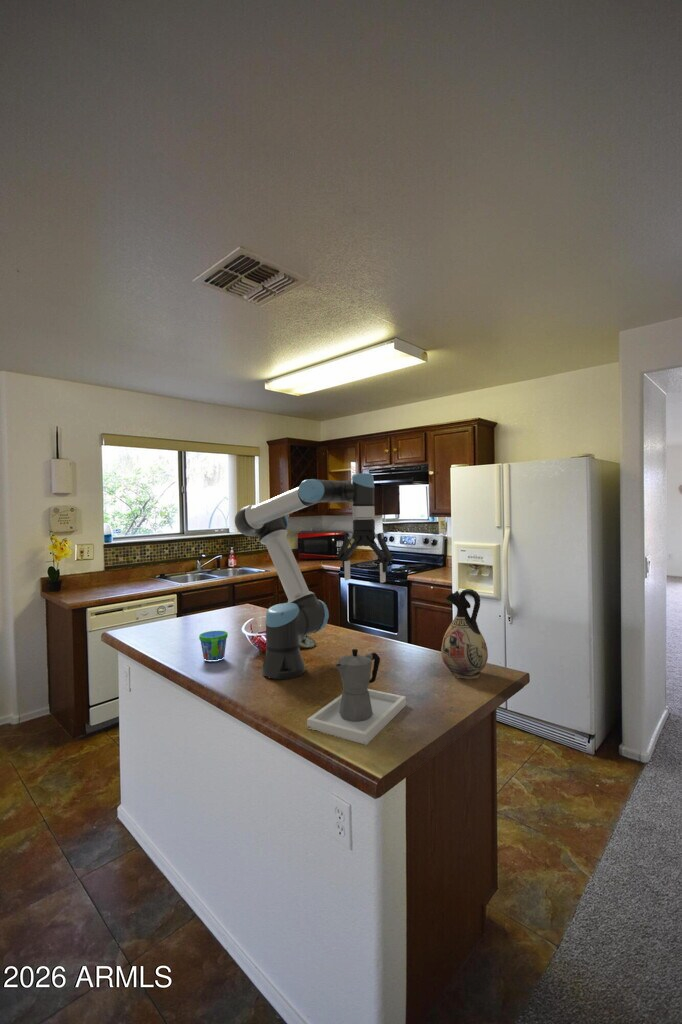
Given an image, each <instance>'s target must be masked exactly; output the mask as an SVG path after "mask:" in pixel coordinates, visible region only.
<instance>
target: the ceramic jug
mask: <svg viewBox="0 0 682 1024" xmlns="http://www.w3.org/2000/svg"><path fill="white" fill-rule="evenodd" d="M466 596H469V597H472V598H473V601H474V604H473V608H472V609H473V610H472V613H471V615H470V614H469V612H468V609H471V603H470V602H469V600H468V599H467V598H466ZM444 600H445V601H446V602H447V603H450V604H452V605H454V606H455V607H456V615H455V617H454V618H453V620H452V621H451V623H450V624H449V626H448V628H447V629H446V631H445V633H444V635H443V639H442V644H441V647H440V648H441V649H440V650H441V651H440V653H441V659H442V661H443V664H444V665H445V666H446V668H447V669H449V671H450V673H452V674H451V676H452V675H453V677H454V676H455V677H454V678H456V677H459V678H465V679H464V680H472V679H471V678H474V679H478V678H480V675H481V671H482V670H483V669H484V668H485V667H486V666H487V662H488V657H489V652H488V647H487V643H486V640H485V638H484V636H483V634H482V633H481V631H480V629H479V625H478V622H477V617H478V615H479V611H480V607H481V598H480V595H479V593H478V592H477V591H476V590H474V589H472V588H466V589H463V590H461V591H460V592H459V591H458V590H456V591H454V593H453V592H451V593H449V594H448V595H447V596H446V598H445V599H444ZM459 678H458V679H459Z"/></svg>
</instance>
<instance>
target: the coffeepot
mask: <svg viewBox="0 0 682 1024" xmlns="http://www.w3.org/2000/svg"><path fill="white" fill-rule="evenodd" d="M358 651H359V649H357V648H353V649H352V650H351V652H352V655H351V654H349V655H343V656H341V657H340V658H339V659H337V663H336V664H335V665H334V668H335V669H337V671H338V672H339V674H340V680H341V684H342V686H343V689H342V691H341V694H342V698H341V705H340V712H339V713H340V715H341V717H342V718H343V719H345V720H348V721H354V722H358V721H364V720H367V719H369V718H370V717H371V715H372V714H373V712H372V707H371V701H370V696H369V691H368V689H369V688H368V686H369V685H370V684H372V683H374V682H375V681H376V678H377V675H378V671H379V666H380V662H381V658H380V656H379V655H378V654H377V652H371V653H366V654H364V655H361V654H358ZM372 663H373V665H372ZM372 666H373V668H372ZM371 671H372V672H371Z"/></svg>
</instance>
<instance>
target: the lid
mask: <svg viewBox="0 0 682 1024" xmlns="http://www.w3.org/2000/svg"><path fill="white" fill-rule="evenodd" d="M314 646H315V647H316V641H315V639H314V638H312V637H311V636H309V635H306V636H303V637H300V638H299V648H300V649H301V648H302V649H304V650H308V649H307V648H309V649H313V648H314ZM312 647H313V648H312Z"/></svg>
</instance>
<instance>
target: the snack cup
mask: <svg viewBox="0 0 682 1024" xmlns="http://www.w3.org/2000/svg"><path fill="white" fill-rule="evenodd" d="M198 637H199V638H198V639H199V641H200V645H201V646H200V647H201V652H202V657H203V660H204V659H206V660H218V659H222V658H223V657H224V658H225V656H226V655H225V654H226V645H227V638H228V632H227V631H225V630H210V631H205V632H203V633H200V634H199V636H198Z"/></svg>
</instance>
